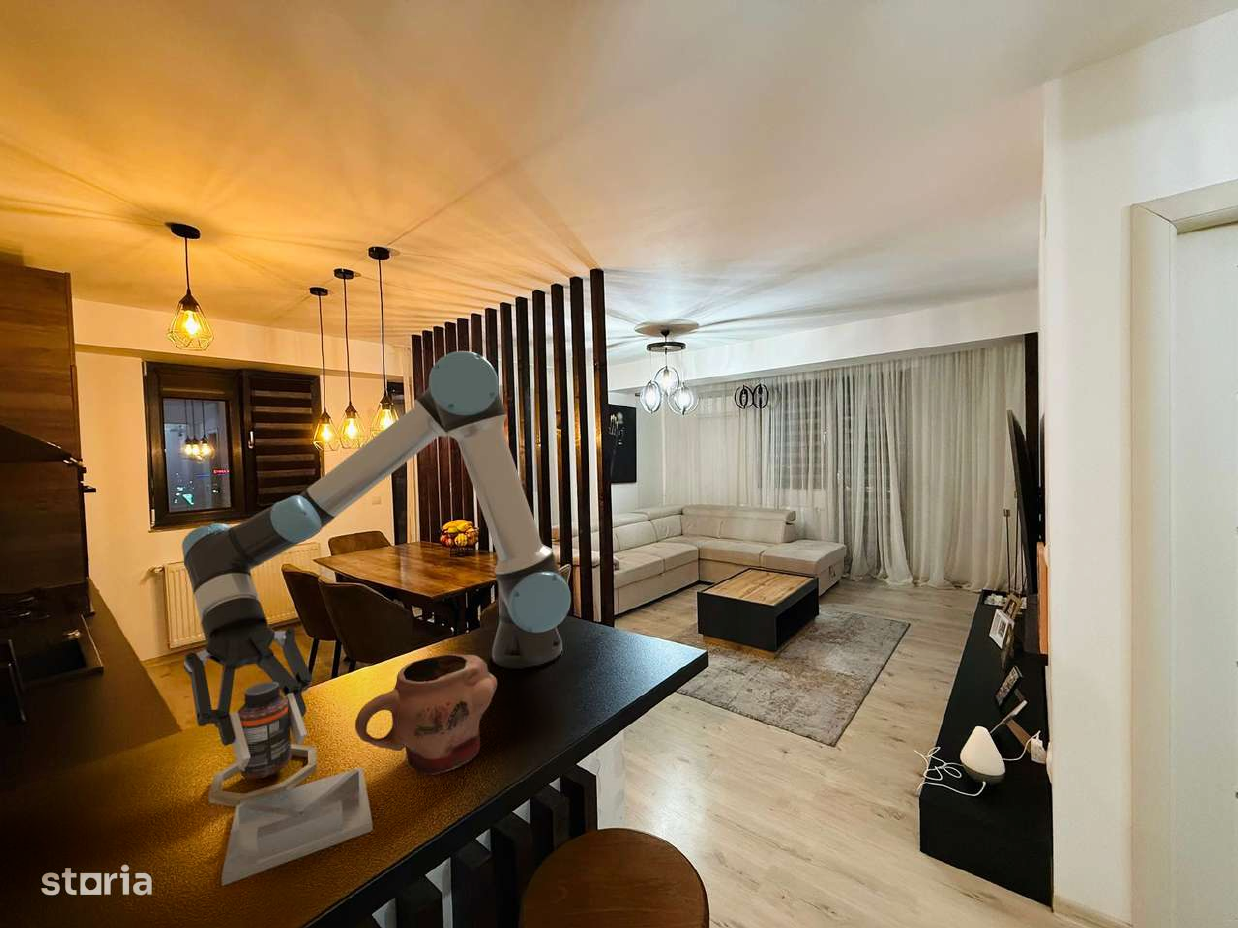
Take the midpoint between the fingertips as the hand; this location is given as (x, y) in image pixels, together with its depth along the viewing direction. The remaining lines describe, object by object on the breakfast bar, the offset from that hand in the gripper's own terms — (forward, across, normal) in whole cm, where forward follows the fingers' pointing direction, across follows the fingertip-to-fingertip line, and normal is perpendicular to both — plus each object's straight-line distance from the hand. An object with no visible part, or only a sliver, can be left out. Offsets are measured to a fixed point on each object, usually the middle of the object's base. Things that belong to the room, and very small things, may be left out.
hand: (274, 750), depth 69 cm
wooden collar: (+1, 0, -6) cm, 6 cm away
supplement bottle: (0, 0, -5) cm, 5 cm away
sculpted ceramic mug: (+13, -16, +5) cm, 21 cm away
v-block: (+10, 0, +4) cm, 11 cm away
